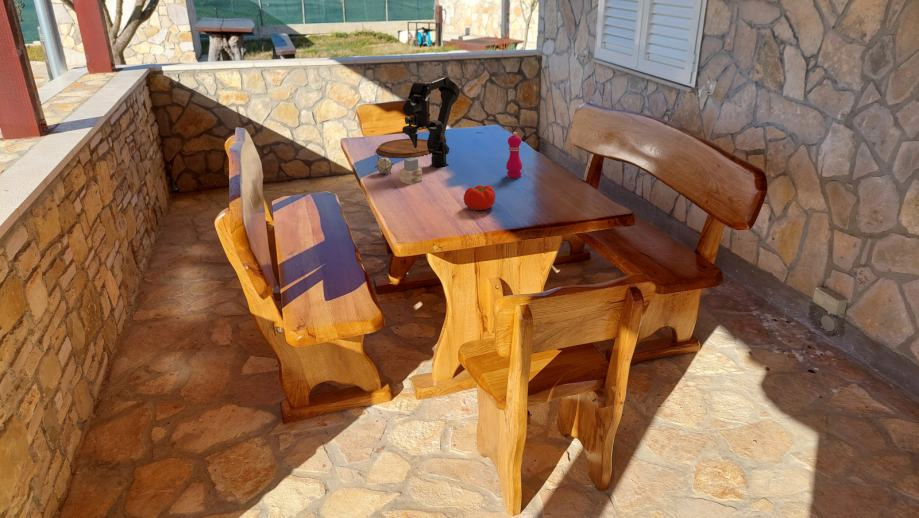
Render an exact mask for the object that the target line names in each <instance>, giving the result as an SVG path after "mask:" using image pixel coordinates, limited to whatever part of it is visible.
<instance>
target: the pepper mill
mask: <svg viewBox="0 0 919 518" xmlns="http://www.w3.org/2000/svg"><path fill="white" fill-rule="evenodd" d="M507 145H508V150H509V157H508V158H507V161H506V164H505V168H506V170H507V173H506V175H507V178H509V179H510V178H511V179H518V178H521V177H522V172H521V171H522V169H523V162H522V160H521V157H520V150H521V146H520V145H522V138H521V136H519V135H518V134H517V132H516V131H513V132H512V134H511V135H510V136H508V138H507Z"/></svg>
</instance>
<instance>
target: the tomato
mask: <svg viewBox="0 0 919 518" xmlns="http://www.w3.org/2000/svg"><path fill="white" fill-rule="evenodd" d="M495 201H496V192H495V190H494V188H493V187H492V186H490V185H487V184H486V185H476V186H474V187H468V188H467V189H466V190H465V192H464V193H463V203H464V205H465V206H466V207H467V208H469V209H470V210H474V211H479V210H483V211H485V210H488V209H490V208H491V207H493V205H494V204H495Z"/></svg>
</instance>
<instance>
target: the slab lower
mask: <svg viewBox="0 0 919 518" xmlns="http://www.w3.org/2000/svg"><path fill="white" fill-rule="evenodd" d="M399 181H400V182H401V183H403V184H407V185H409V186H410V185H413V184H417V183H420V182H422V181H423V175H422V176H419V177H416V178H413V179H408V178H404V177H401V176H400V175H399Z"/></svg>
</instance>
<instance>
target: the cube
mask: <svg viewBox="0 0 919 518" xmlns="http://www.w3.org/2000/svg"><path fill="white" fill-rule="evenodd" d="M403 166H404V167H403V168H404V169H406V170H408V171H413V170H417V169H418V168H419V159H418V158H417V157H414V158H413V157H411V158H403Z"/></svg>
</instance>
